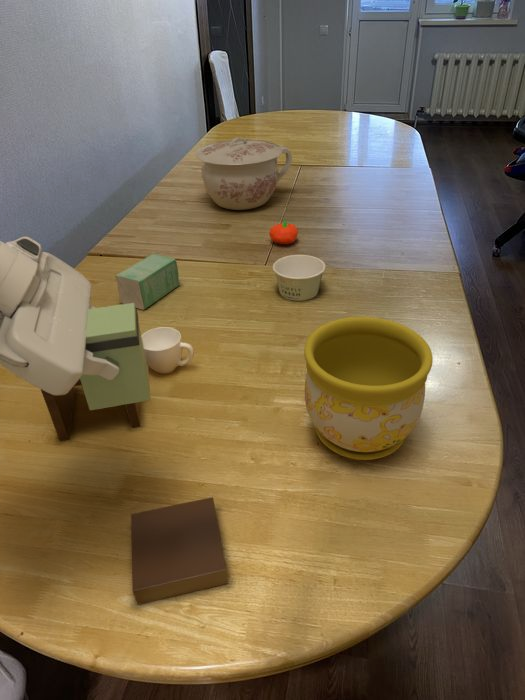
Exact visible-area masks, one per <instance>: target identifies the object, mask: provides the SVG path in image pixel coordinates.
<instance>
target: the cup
mask: <svg viewBox="0 0 525 700" xmlns="http://www.w3.org/2000/svg"><path fill="white" fill-rule="evenodd" d="M141 337H142V342H143V346H144V351H145V356H146V361H147V366H149V368H150V369H151V370H153V371H154V372H156V373H157V374H161V375H165V374H170V373H172V372H173V371H175V370H176V368H177V367H182V366H186V365H187V364H189V363H190V362H191V361H192V359H193V358H194V356H195V351H194V348H193V346H192V345H191V344H190V343H187V342H183V340H182V335H181V332H180V331H179V330H178V329H176V328H173V327H169V326H159V327H154V328H151V329H149V330H146V331H145V332H143V333H142V334H141ZM183 349H186V350H187V352H188V357H187V358H185V359H183V360H181V359H182V355H183Z"/></svg>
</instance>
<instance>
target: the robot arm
mask: <svg viewBox="0 0 525 700" xmlns="http://www.w3.org/2000/svg"><path fill="white" fill-rule="evenodd" d="M92 287H93V286H92V283H91V282H90V280H88V279H87V277H86V276H84V275H83V274H82V273H81V272H80V271H78V270H77V269H75V268H74V267H72V266H71V265H69V264H68V263H66V262H65V261H63V260H61V259H60V258H58V257H57V256H55V255H53V254H52V253H49V252H46V251H42V245H41V244H40V243H39V242H37V241H36V240H34V239H32V238H31V237H29V236H26V235H25V236H21V237H20V238H17V239H14V240H11V241H6V242H3V241H2V240H0V365H1V366H2V367H3V368H5V370H7V371H9V372H10V373H11V374H13V375H15V376H16V377H18V378H20V379H22V380H24V381H25V382H27V383H28V384H30V385H32V386H34V387H36V388H38V389H39V390H41V389H42V390H43V391H45V392H47V393H50V394H52V395H65V394H67V393H68V392H69V391H70V390H71V388H72V387H73V386H74V385H75V384H76V383H77V381H78V380H79V379H80V377H81V376H82V374H83V375H99V376H101V377H103V378H105V379H107V380H113V379H114V378H115V377H116V376H117V375H118V373H119V363H118V362H117V361H115V360H113V359H111V358H110V357H108V356H107V357H106V358H105V359H101V358H97V357H93V353H92V352H90V351H88V350H86V349H85V348H86V329H87V319H88V310H89V309H93V308H96V307H95V306H93V305H92V304H91V298H92V289H93V288H92ZM74 387H75V386H74Z"/></svg>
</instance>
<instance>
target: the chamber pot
mask: <svg viewBox="0 0 525 700" xmlns="http://www.w3.org/2000/svg"><path fill="white" fill-rule="evenodd" d="M282 154H285V158H286V159H285V162H284V163H285V164H284V165H283V167H282V168H281V169H280V171H279V164H278V157H280V156H281V155H282ZM194 156H195V158H196V159H197V160H199V161H200V162H202V163H203V164H202V166H201V168H200V169H201V178H202V181H203V184H204V188H205V190H206V193H207V194H208V195H209V197H210V198H211V200H212V201H213V202H214V203H215V204H216V205H217V206H219V207H220V208H223V209H225V210H231V211H248V210H249V211H250V210H253V209H256V208H259V207H262V206H264V205H265V204H267V203H268V201H269V200H270V199H271V197H272V195H273V193H274V192H275V190H276V187H277V184H278V182H279V181H280V180H282V178H283V177H284V176H285V175H286V174H287V173H288V171H289V169H290V168H291V166H292V162H293V158H292V152H291V151H290V149H289V148H288V147H287V146H285V145H279V144H276V143H274V142H270V141H265V140H260V139H246V138H245V137H235V138H232V139H231V140H222V141H218V142H217V141H216V142H214V143H210V144H207V145H204V146H202V147H200V148H198V149H197V151H196V152H195V154H194Z"/></svg>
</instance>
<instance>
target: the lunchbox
mask: <svg viewBox="0 0 525 700" xmlns="http://www.w3.org/2000/svg"><path fill="white" fill-rule="evenodd" d="M140 327H141V326H140V323H139V313H138V308H135V303H129V304H122V303H121V304H115V305H108V306H100V307H95V308H93V309H89V310H88V319H87V329H86V348H85V349H86V350H88V351H90V352H92V353H93V357H97V358H101V359H105V358H106V357H107V356H108V357H110V358H111V359H113V360H115V361H117V362H118V363H119V373H118V375H117V376H116V377H115V378H114V379H113V380H107V379H105V378H103V377H101V376H99V375H83V374H82V376H81V377H80V380H81V383H82V385H81V386H82V391H83V393H84V396H85V400H86V402H87V406H88V410H89V411H94V410H100V409H105V408H106V409H107V408H111V407H112V408H113V407H118V406H123V405H125V404H131V403H137V402H139V403H142V402H148V401H151V387H150V374H149V373H150V372H149V367H148V366H149V365H148V364H147V361H146V356H145V351H144V346H143V342H142V337H141V336H142V333H141V328H140ZM125 406H126V405H125Z"/></svg>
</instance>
